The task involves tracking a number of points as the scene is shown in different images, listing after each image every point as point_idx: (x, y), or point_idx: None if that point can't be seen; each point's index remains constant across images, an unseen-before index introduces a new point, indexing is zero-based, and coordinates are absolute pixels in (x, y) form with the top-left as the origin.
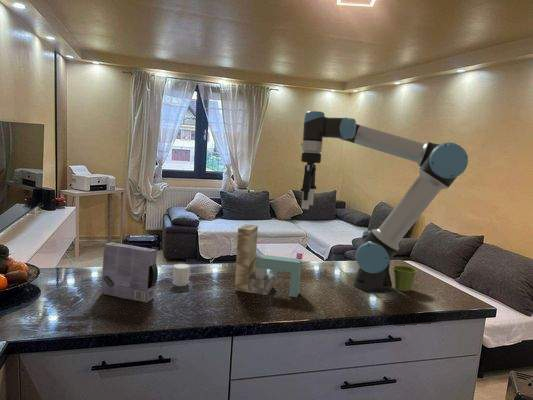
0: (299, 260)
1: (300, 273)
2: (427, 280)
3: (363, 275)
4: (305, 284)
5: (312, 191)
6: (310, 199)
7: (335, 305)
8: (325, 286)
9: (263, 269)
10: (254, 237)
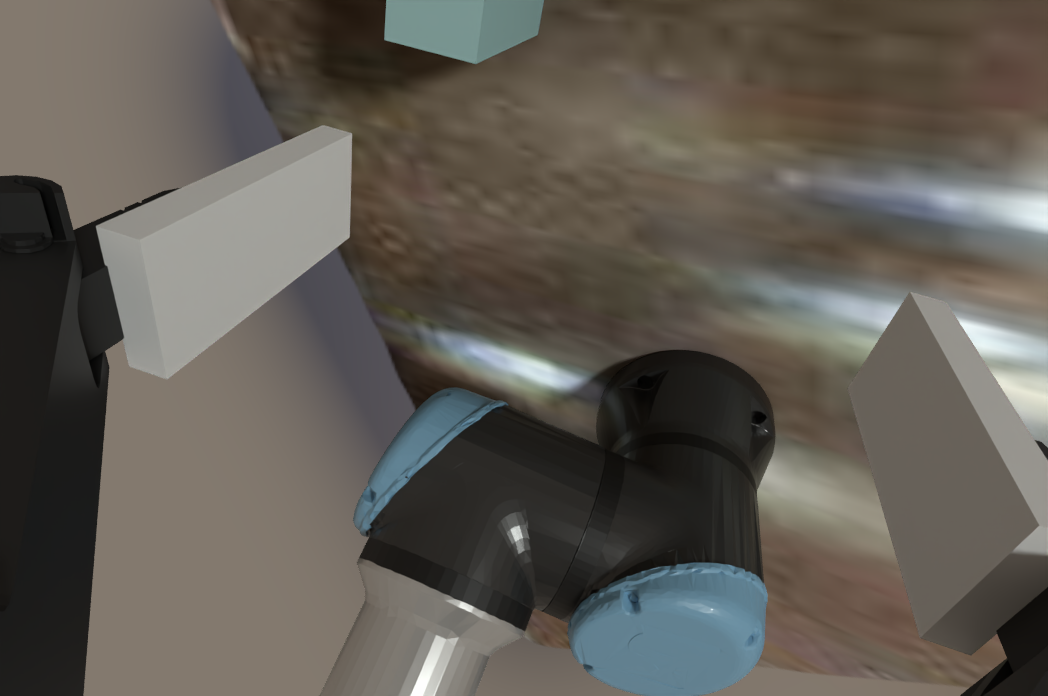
0: (441, 43)
1: (503, 49)
2: (782, 637)
3: (646, 408)
4: (686, 89)
5: (922, 565)
6: (897, 411)
7: (419, 200)
8: (662, 204)
9: None
10: None
